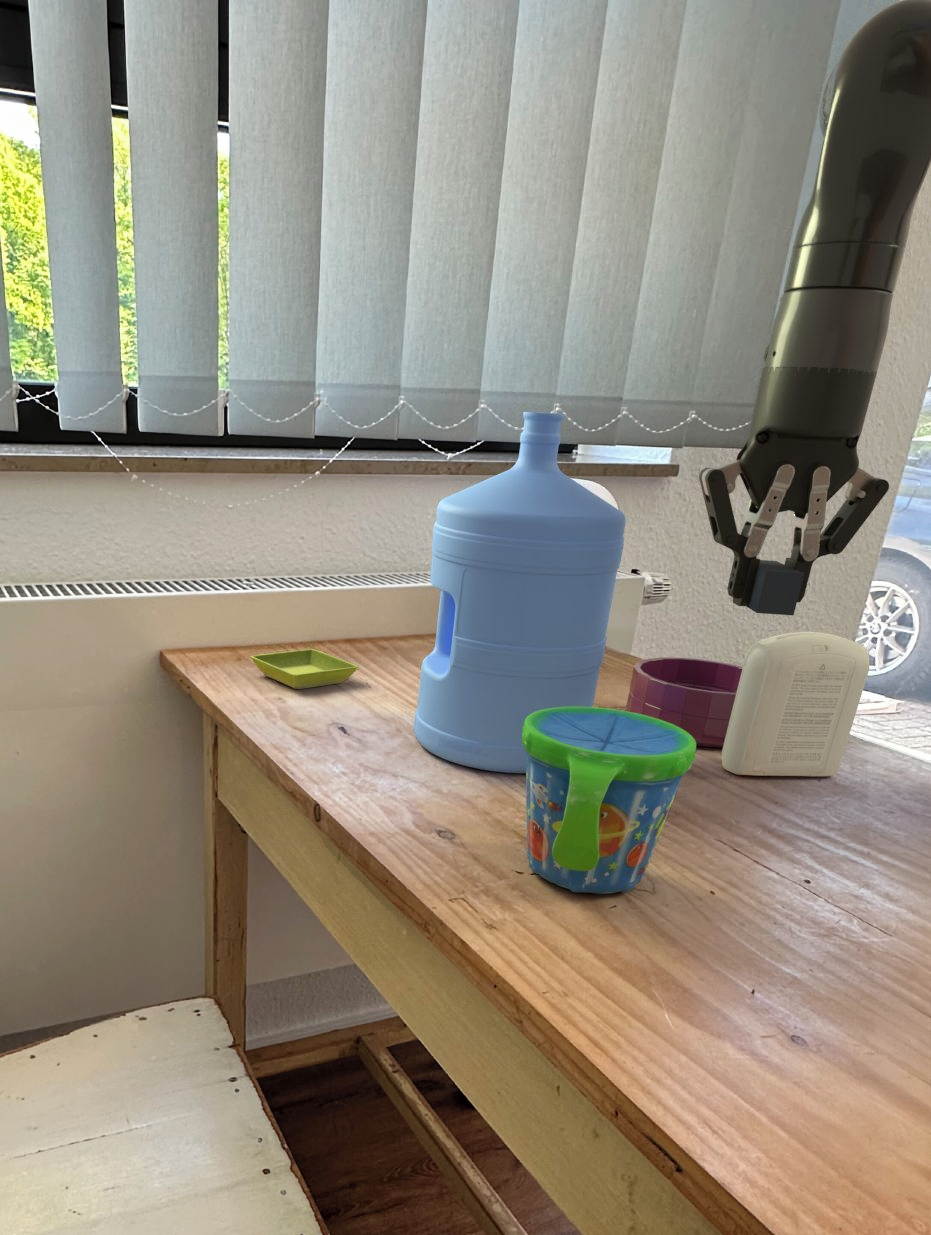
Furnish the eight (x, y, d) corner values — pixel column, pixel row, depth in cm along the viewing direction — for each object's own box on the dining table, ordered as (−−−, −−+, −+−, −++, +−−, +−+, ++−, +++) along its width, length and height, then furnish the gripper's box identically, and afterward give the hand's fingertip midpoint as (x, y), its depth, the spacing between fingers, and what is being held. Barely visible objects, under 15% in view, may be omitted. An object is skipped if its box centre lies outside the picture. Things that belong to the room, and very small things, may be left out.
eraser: (732, 598, 78) (741, 558, 77) (767, 600, 78) (776, 560, 77) (756, 613, 73) (766, 570, 72) (793, 615, 73) (804, 573, 71)
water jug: (609, 743, 89) (670, 419, 78) (546, 792, 77) (607, 417, 66) (459, 708, 97) (494, 409, 85) (381, 747, 85) (410, 405, 73)
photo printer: (815, 762, 87) (853, 628, 82) (845, 779, 83) (886, 640, 78) (711, 762, 86) (743, 625, 81) (736, 780, 82) (772, 637, 77)
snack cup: (541, 816, 73) (562, 686, 68) (685, 851, 68) (717, 715, 64) (466, 896, 60) (486, 743, 56) (635, 946, 55) (670, 784, 51)
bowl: (741, 714, 100) (753, 662, 98) (783, 756, 88) (798, 699, 86) (614, 704, 101) (623, 653, 99) (638, 744, 89) (650, 687, 87)
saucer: (312, 665, 110) (313, 647, 109) (359, 684, 103) (360, 665, 102) (248, 674, 105) (248, 655, 104) (293, 694, 98) (293, 675, 98)
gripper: (736, 358, 66) (684, 609, 73) (947, 368, 65) (874, 622, 72) (705, 362, 72) (661, 591, 79) (896, 371, 71) (834, 603, 79)
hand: (762, 605), depth 76 cm, fingers closed on eraser, 2 cm apart
